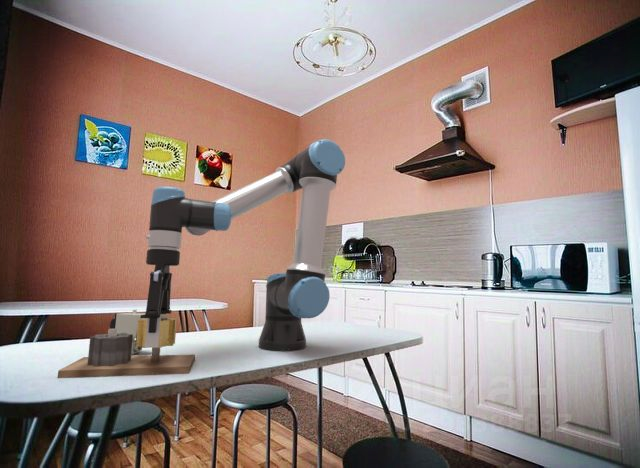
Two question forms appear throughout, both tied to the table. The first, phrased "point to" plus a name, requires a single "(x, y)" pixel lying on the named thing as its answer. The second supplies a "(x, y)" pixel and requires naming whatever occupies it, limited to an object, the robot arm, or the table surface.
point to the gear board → (123, 359)
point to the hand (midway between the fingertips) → (155, 343)
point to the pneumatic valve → (127, 326)
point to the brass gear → (165, 334)
